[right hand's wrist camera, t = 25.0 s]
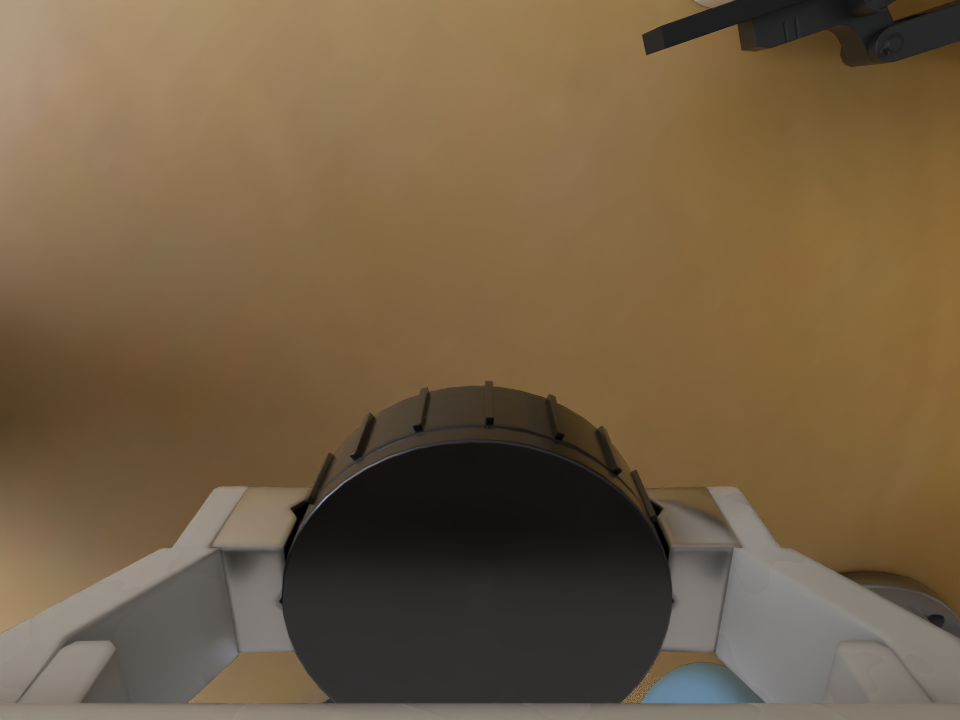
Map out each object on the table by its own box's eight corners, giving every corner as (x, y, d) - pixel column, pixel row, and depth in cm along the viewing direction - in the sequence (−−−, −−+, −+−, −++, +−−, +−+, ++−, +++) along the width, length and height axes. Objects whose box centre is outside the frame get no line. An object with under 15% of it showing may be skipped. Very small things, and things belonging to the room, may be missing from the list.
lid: (716, 528, 10) (762, 606, 8) (482, 710, 11) (481, 808, 10) (471, 304, 9) (469, 347, 7) (241, 540, 10) (195, 620, 8)
